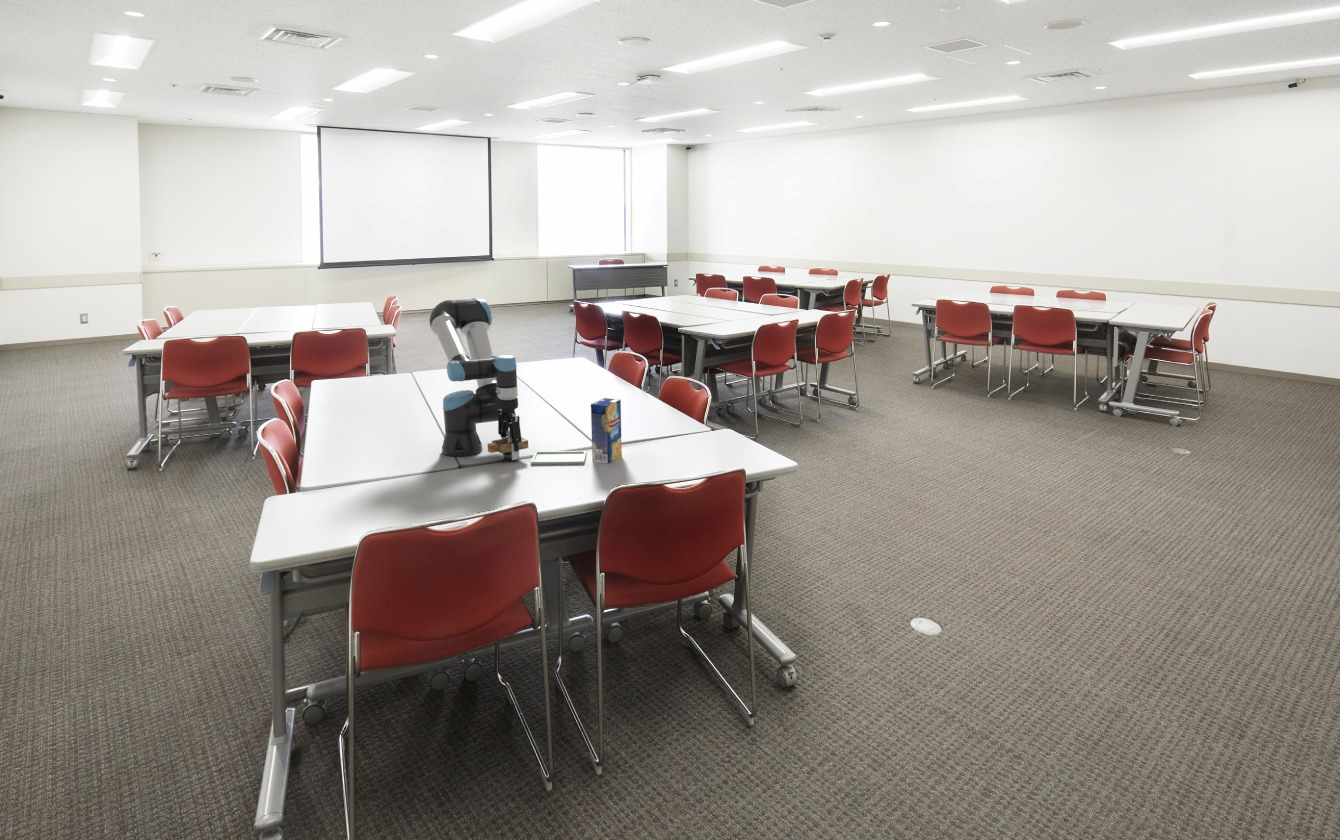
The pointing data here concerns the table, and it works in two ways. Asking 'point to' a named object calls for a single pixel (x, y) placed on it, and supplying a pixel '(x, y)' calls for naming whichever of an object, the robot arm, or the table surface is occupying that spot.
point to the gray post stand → (508, 455)
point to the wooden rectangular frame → (505, 445)
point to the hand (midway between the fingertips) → (510, 456)
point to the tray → (558, 457)
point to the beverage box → (606, 430)
